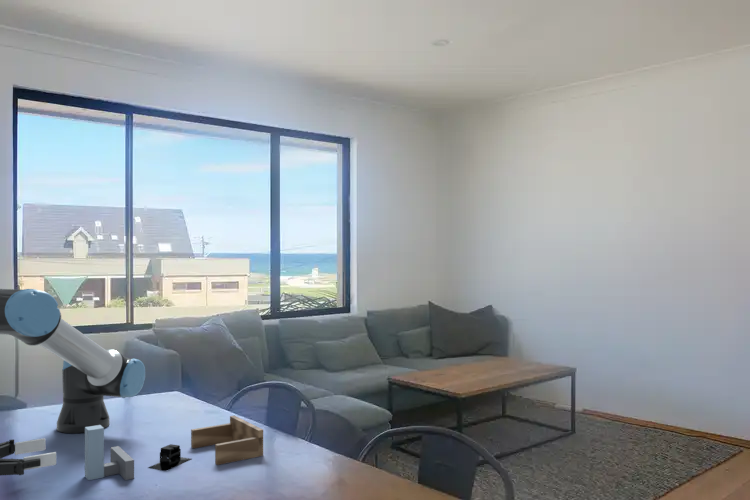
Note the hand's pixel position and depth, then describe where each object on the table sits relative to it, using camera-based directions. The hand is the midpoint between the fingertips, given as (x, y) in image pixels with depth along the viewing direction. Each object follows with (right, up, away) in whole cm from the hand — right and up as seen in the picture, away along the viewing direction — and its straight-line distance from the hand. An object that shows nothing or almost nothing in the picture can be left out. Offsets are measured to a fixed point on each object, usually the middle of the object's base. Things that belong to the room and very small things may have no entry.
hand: (50, 450), depth 154 cm
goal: (+36, -8, +26) cm, 45 cm away
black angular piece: (+23, -9, +16) cm, 29 cm away
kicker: (+10, -8, +7) cm, 15 cm away
